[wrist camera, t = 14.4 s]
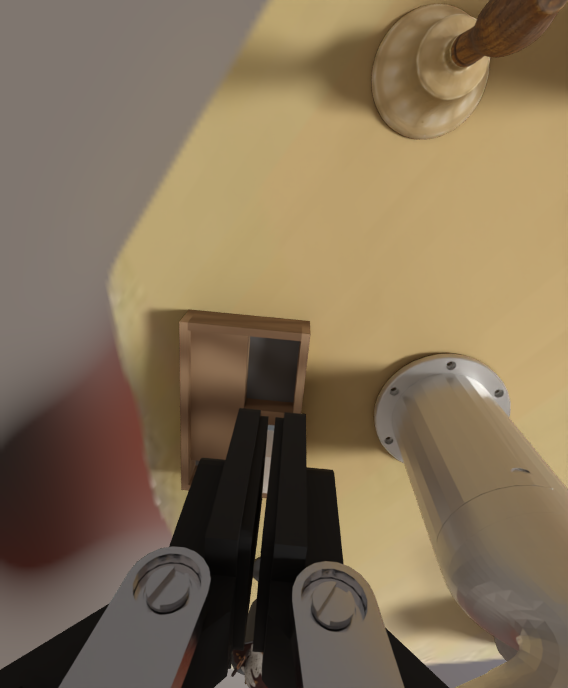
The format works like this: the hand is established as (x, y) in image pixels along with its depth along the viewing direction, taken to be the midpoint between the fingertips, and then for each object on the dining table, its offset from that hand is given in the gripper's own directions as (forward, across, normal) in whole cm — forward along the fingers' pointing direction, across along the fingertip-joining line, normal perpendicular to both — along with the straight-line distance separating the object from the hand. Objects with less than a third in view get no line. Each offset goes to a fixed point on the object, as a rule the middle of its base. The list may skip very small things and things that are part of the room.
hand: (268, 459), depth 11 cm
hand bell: (+27, -9, -14) cm, 32 cm away
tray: (+27, +3, +15) cm, 31 cm away
